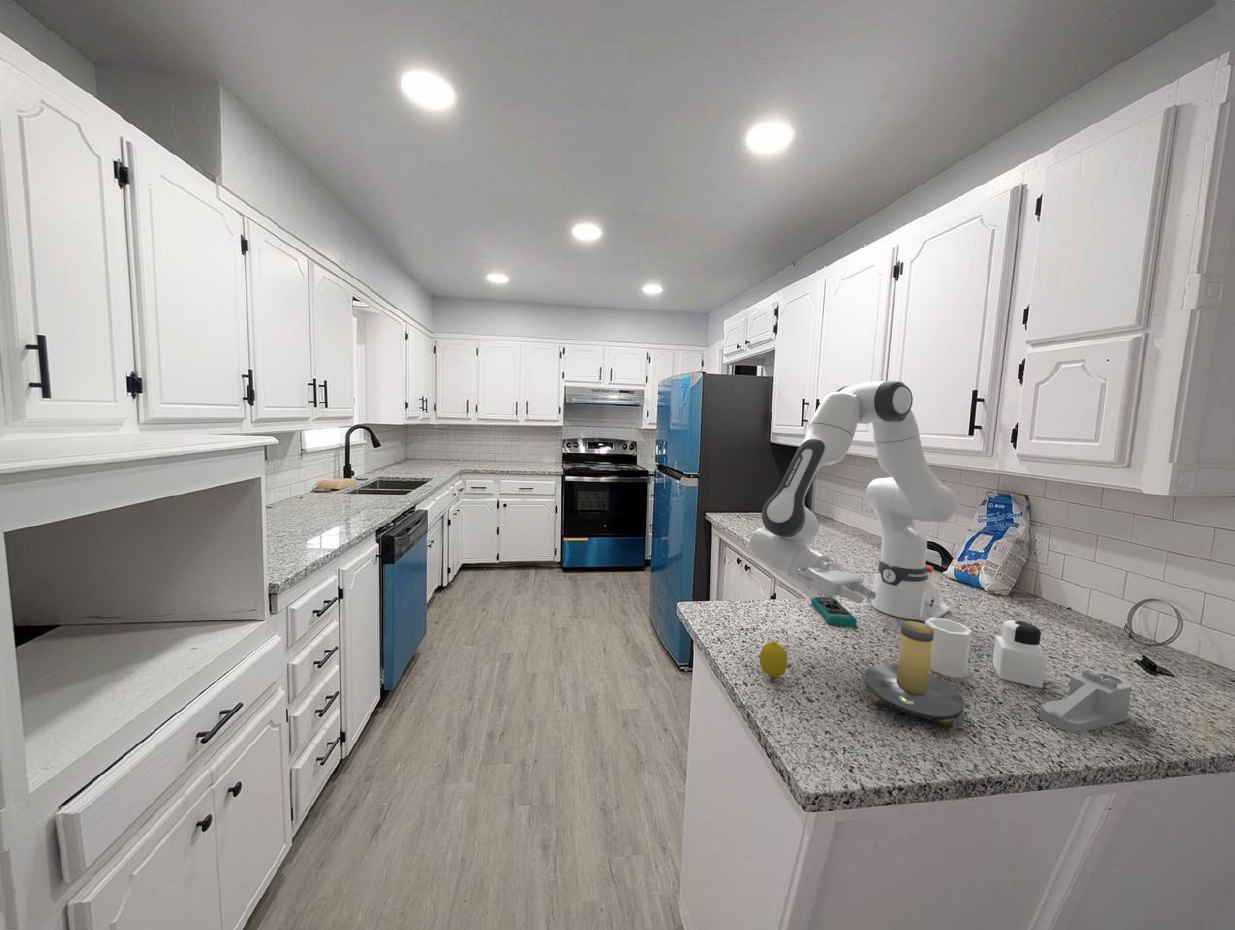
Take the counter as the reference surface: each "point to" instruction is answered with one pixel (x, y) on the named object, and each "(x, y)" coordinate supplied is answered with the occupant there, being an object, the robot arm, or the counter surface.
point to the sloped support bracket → (1090, 702)
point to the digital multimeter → (833, 611)
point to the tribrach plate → (914, 696)
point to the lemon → (773, 659)
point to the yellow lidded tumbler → (914, 657)
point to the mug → (949, 647)
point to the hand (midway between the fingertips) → (868, 598)
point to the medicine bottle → (1019, 654)
